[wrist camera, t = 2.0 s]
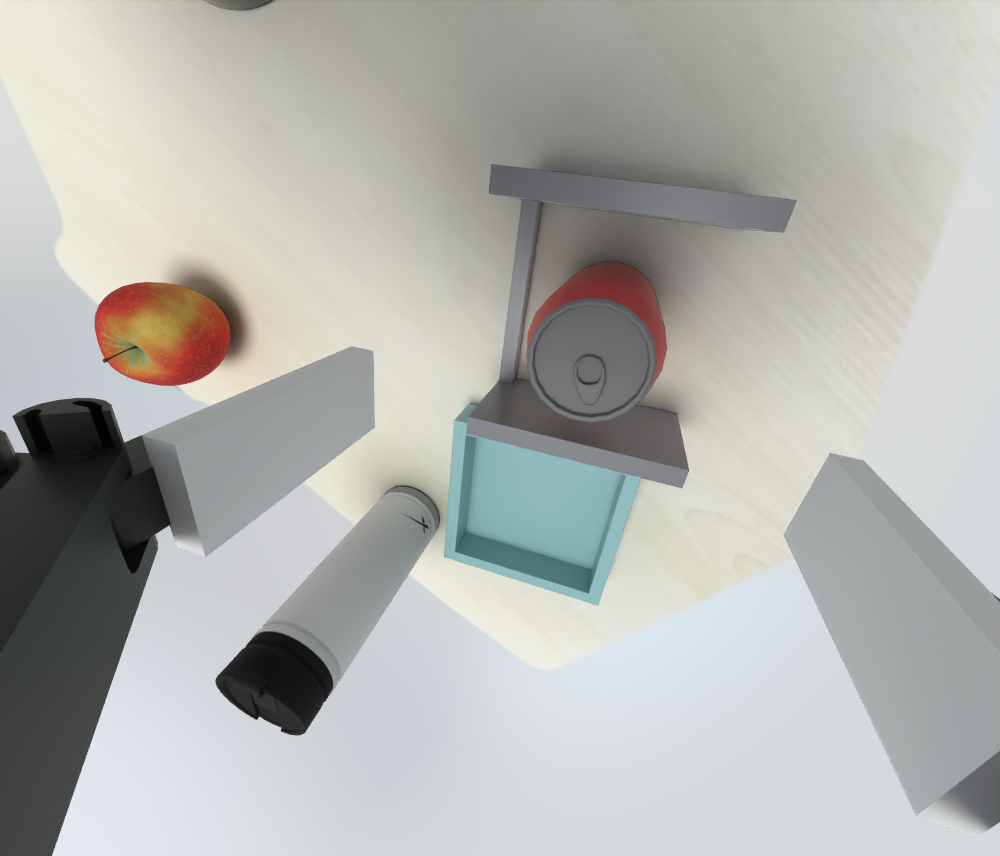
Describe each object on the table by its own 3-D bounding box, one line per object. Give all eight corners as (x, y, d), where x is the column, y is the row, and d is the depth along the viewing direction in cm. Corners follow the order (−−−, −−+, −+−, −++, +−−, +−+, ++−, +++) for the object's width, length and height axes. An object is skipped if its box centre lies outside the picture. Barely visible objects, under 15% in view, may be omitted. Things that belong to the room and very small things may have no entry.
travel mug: (443, 494, 39) (294, 705, 22) (437, 545, 43) (301, 765, 25) (383, 474, 41) (196, 661, 23) (381, 525, 44) (215, 724, 26)
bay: (529, 179, 26) (491, 164, 20) (750, 206, 24) (796, 200, 17) (501, 389, 33) (466, 433, 26) (671, 428, 31) (681, 488, 24)
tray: (469, 403, 34) (454, 420, 32) (643, 444, 32) (644, 467, 29) (457, 532, 41) (443, 556, 38) (601, 576, 38) (598, 605, 35)
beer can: (559, 361, 31) (521, 431, 21) (555, 265, 28) (508, 291, 18) (655, 358, 29) (665, 435, 19) (660, 255, 26) (675, 278, 16)
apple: (198, 255, 36) (59, 265, 27) (267, 330, 37) (155, 363, 29) (166, 315, 40) (36, 341, 31) (230, 381, 41) (121, 423, 32)
